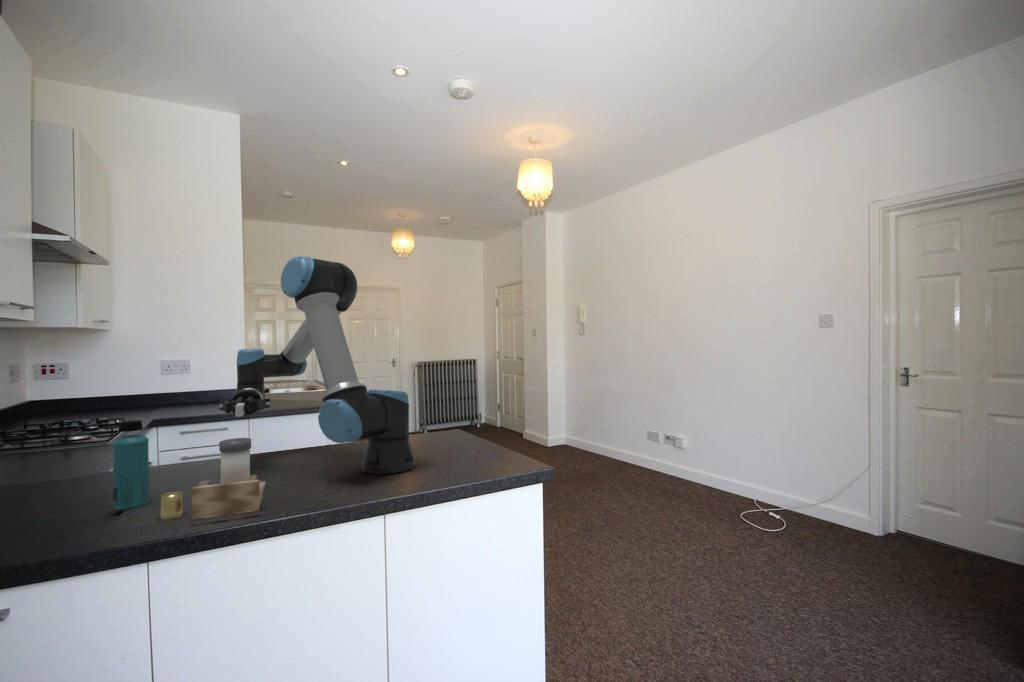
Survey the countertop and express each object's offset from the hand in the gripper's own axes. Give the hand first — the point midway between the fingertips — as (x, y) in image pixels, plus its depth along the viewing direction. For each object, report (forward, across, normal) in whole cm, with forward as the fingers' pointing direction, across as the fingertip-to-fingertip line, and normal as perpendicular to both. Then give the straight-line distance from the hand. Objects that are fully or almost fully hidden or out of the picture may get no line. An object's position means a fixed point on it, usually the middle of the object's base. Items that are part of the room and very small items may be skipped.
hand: (238, 411), depth 119 cm
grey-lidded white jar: (+8, 0, -18) cm, 20 cm away
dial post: (+21, +10, -20) cm, 30 cm away
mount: (+12, 0, -20) cm, 23 cm away
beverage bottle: (+8, +20, -20) cm, 29 cm away
